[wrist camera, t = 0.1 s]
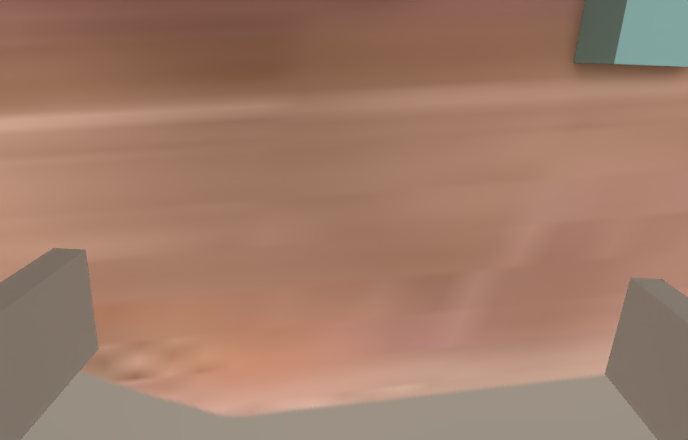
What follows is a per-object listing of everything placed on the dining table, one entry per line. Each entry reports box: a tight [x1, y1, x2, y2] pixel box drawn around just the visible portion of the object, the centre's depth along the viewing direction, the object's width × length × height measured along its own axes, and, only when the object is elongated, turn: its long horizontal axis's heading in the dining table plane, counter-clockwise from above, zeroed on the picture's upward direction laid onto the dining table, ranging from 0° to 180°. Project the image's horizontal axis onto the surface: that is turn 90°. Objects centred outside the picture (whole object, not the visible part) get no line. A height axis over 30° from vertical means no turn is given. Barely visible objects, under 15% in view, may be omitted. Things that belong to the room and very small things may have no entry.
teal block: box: [574, 0, 688, 67], centre depth 32 cm, size 8×8×6 cm
